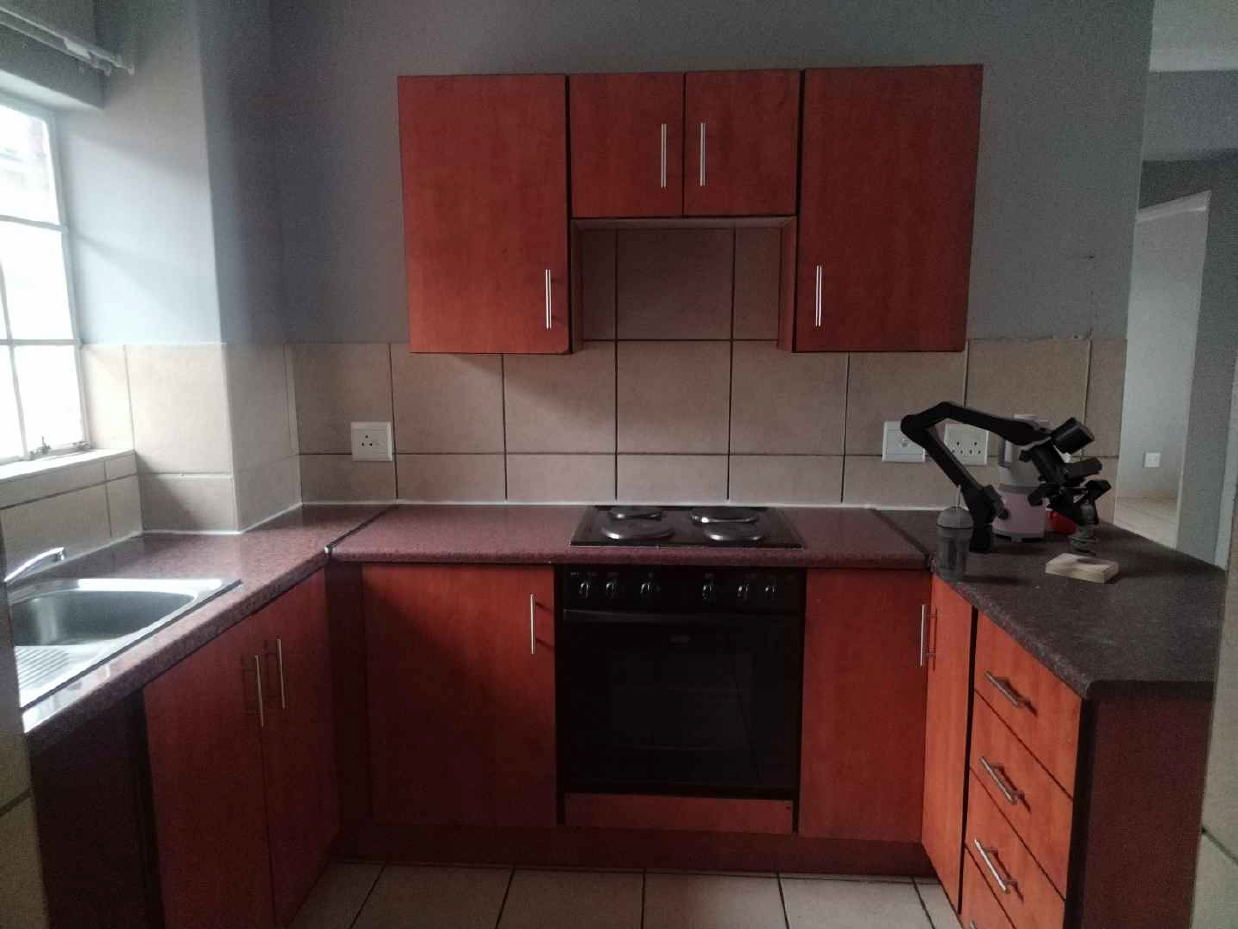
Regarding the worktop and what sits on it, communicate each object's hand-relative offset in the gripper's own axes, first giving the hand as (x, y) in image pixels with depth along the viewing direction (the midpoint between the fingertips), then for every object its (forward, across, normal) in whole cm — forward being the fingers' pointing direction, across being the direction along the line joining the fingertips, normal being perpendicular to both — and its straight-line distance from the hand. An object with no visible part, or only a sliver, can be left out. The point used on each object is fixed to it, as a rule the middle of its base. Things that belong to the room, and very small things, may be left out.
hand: (1090, 525), depth 159 cm
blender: (-14, +12, +30) cm, 35 cm away
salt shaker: (+4, 0, +6) cm, 7 cm away
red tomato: (-14, +30, +30) cm, 45 cm away
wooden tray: (+7, 0, +8) cm, 11 cm away
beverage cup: (+3, -29, +13) cm, 32 cm away
